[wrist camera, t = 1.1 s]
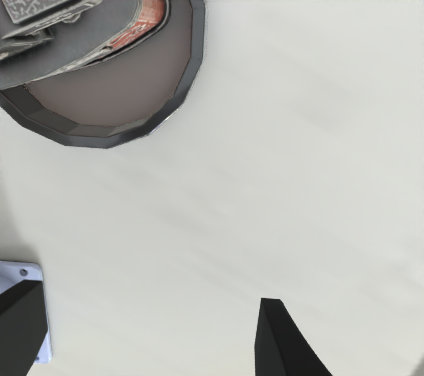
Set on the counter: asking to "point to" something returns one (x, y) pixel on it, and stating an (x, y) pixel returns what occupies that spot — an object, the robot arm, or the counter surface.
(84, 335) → the counter surface
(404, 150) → the counter surface
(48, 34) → the lighter
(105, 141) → the dark grey ring
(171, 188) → the counter surface
